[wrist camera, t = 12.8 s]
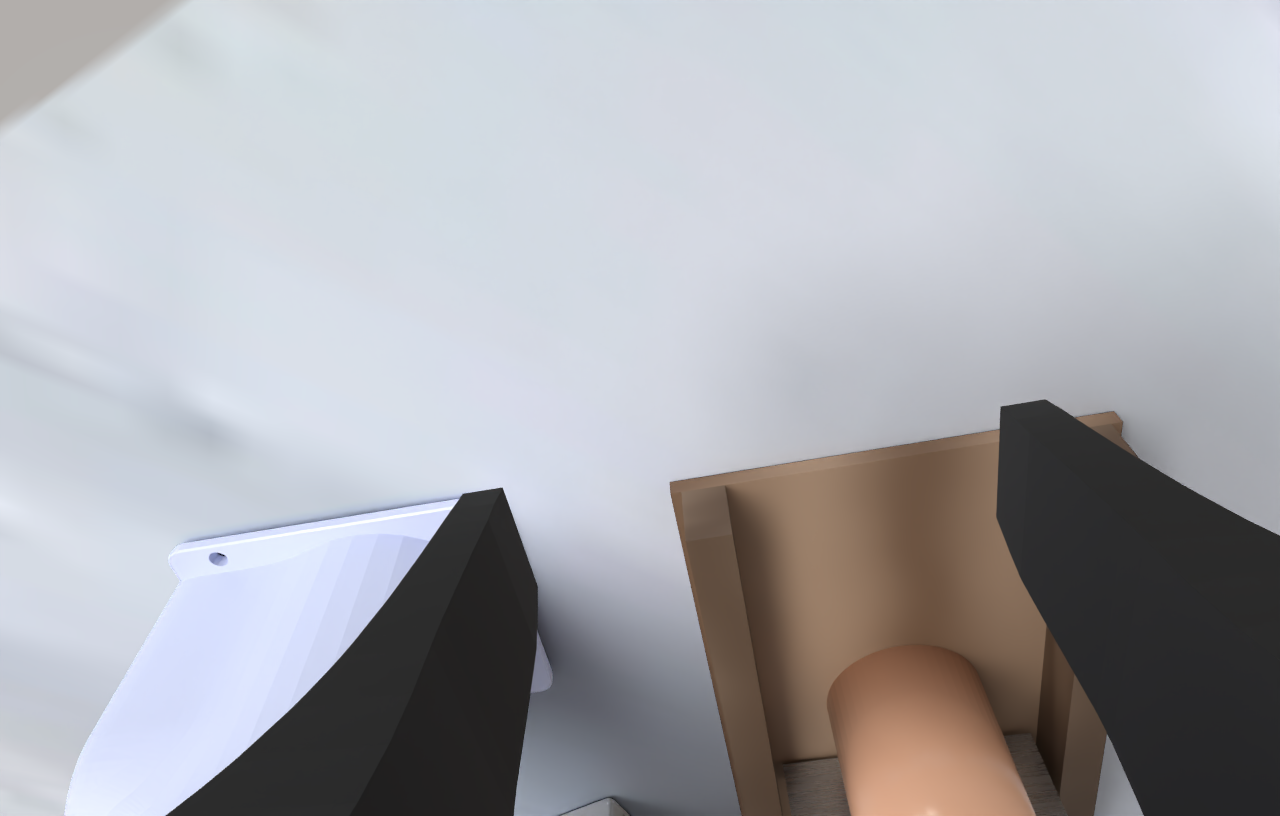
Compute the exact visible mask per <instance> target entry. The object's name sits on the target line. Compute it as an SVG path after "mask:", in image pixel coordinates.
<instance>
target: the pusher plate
mask: <svg viewBox="0 0 1280 816" xmlns="http://www.w3.org/2000/svg"><path fill="white" fill-rule="evenodd" d="M1004 739H1005V741H1006V743H1007V746H1008V748H1009V751H1010V753H1011V756H1012V758H1013V761H1014V763H1015V765H1016V768H1017V770H1018V773H1019V775H1020V778H1021V780H1022V783H1023V785H1024V787H1025V790H1026V792H1027V795H1028V797H1029V800H1030V802H1031V805H1032V807H1033V809H1034V812H1035V814H1036V816H1068V815H1067V813H1066V811H1065V809H1064V807H1063V804H1062V802H1061V800H1060V798H1059V795H1058V793H1057V791H1056V789H1055V786H1054V784H1053V782H1052V780H1051V777H1050V775H1049V773H1048V771H1047V768H1046V766H1045V764H1044V762H1043V760H1042V757H1041V755H1040V753H1039V751H1038V748H1037V746H1036V744H1035V742H1034V739H1033V737H1032V735H1031V733H1025V734H1017V735H1009V736H1004ZM783 768H784V774H785V780H786V786H787V792H788V798H789V804H790V810H791V816H851V814H850V809H849V805H848V800H847V796H846V791H845V787H844V782H843V778H842V773H841V769H840V765H839V760H838V758H831V759H823V760H815V761H808V762H800V763H792V764H784V765H783Z"/></svg>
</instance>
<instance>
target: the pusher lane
mask: <svg viewBox="0 0 1280 816" xmlns="http://www.w3.org/2000/svg"><path fill="white" fill-rule="evenodd" d="M1076 419H1077V420H1079V421H1081V422H1082V423H1084V424H1085V425H1087V426H1088V427H1090V428H1091V429H1093V430H1094V431H1096V432H1098V433H1099V434H1101V435H1102V436H1104V437H1105V438H1107V439H1108V440H1110V441H1112V442H1113V443H1115V444H1116V445H1118V446H1119V447H1121V448H1123V449H1124V450H1126V451H1127V452H1129V453H1131V454H1132V455H1134V456H1135V457H1137V458H1138V456H1137V455H1136V454H1135V453H1134V451H1133V450H1132V449H1131V448H1130V447H1129V445H1128V444H1127V443H1126V442H1125V440H1124V439H1123V438H1122V437H1121V433H1122V425H1123V421H1122V420H1121V419H1120V418H1119V417H1118V415H1117V414H1116V413H1115V412H1114V411H1113V412H1107V413H1101V414H1094V415H1088V416H1082V417H1076ZM999 435H1000V430H994V431H988V432H982V433H975V434H969V435H963V436H957V437H950V438H944V439H938V440H932V441H925V442H919V443H913V444H907V445H900V446H894V447H888V448H882V449H875V450H869V451H863V452H857V453H850V454H844V455H838V456H832V457H825V458H819V459H813V460H807V461H800V462H794V463H788V464H782V465H775V466H769V467H763V468H757V469H750V470H744V471H738V472H732V473H725V474H719V475H713V476H707V477H700V478H694V479H688V480H681V481H675V482H670V493H671V498H672V503H673V507H674V512H675V516H676V521H677V525H678V530H679V534H680V539H681V543H682V548H683V552H684V557H685V561H686V566H687V570H688V575H689V579H690V584H691V588H692V593H693V597H694V602H695V607H696V611H697V616H698V620H699V625H700V629H701V634H702V638H703V643H704V647H705V652H706V656H707V661H708V665H709V670H710V674H711V679H712V683H713V688H714V692H715V697H716V701H717V706H718V710H719V715H720V719H721V724H722V728H723V733H724V737H725V742H726V746H727V751H728V756H729V760H730V765H731V769H732V774H733V778H734V783H735V787H736V792H737V796H738V801H739V805H740V810H741V814H742V816H791V810H790V804H789V798H788V792H787V786H786V780H785V774H784V768H783V765H784V764H792V763H800V762H808V761H815V760H823V759H831V758H838V756H837V751H836V747H835V742H834V738H833V733H832V729H831V724H830V720H829V715H828V711H827V696H828V692H829V690H830V687H831V686H832V684H833V682H834V681H835V679H836V678H837V677H838V676H839V675H840V674H841V673H842V672H843V671H844V670H845V669H846V668H847V667H849V666H850V665H851V664H853V663H854V662H856V661H858V660H859V659H861V658H863V657H865V656H867V655H869V654H872V653H875V652H877V651H880V650H884V649H887V648H892V647H897V646H905V645H929V646H936V647H941V648H944V649H948V650H951V651H953V652H955V653H958V654H959V655H961V656H962V657H964V658H965V659H967V660H968V661H969V662H970V663H971V664H972V665H973V666H974V668H975V669H976V671H977V673H978V675H979V677H980V680H981V682H982V685H983V687H984V690H985V692H986V695H987V697H988V699H989V702H990V704H991V707H992V709H993V712H994V714H995V717H996V719H997V721H998V724H999V726H1000V729H1001V731H1002V734H1003V736H1009V735H1017V734H1025V733H1031V735H1032V737H1033V739H1034V742H1035V744H1036V746H1037V748H1038V751H1039V753H1040V755H1041V757H1042V760H1043V762H1044V764H1045V766H1046V768H1047V771H1048V773H1049V775H1050V777H1051V780H1052V782H1053V784H1054V786H1055V789H1056V791H1057V793H1058V795H1059V798H1060V800H1061V802H1062V804H1063V807H1064V809H1065V811H1066V813H1067V815H1068V816H1094V810H1095V804H1096V797H1097V791H1098V785H1099V779H1100V773H1101V766H1102V760H1103V754H1104V748H1105V741H1106V735H1107V732H1106V730H1105V728H1104V726H1103V724H1102V722H1101V720H1100V718H1099V716H1098V715H1097V713H1096V711H1095V709H1094V707H1093V705H1092V704H1091V702H1090V700H1089V698H1088V697H1087V695H1086V693H1085V691H1084V690H1083V688H1082V686H1081V684H1080V683H1079V681H1078V679H1077V677H1076V676H1075V674H1074V672H1073V670H1072V669H1071V667H1070V665H1069V663H1068V662H1067V660H1066V658H1065V656H1064V655H1063V653H1062V651H1061V649H1060V648H1059V646H1058V644H1057V642H1056V641H1055V639H1054V637H1053V635H1052V634H1051V632H1050V630H1049V628H1048V627H1047V625H1046V623H1045V621H1044V620H1043V618H1042V616H1041V614H1040V612H1039V611H1038V609H1037V607H1036V605H1035V604H1034V602H1033V600H1032V598H1031V596H1030V595H1029V593H1028V591H1027V589H1026V587H1025V586H1024V584H1023V582H1022V580H1021V578H1020V576H1019V573H1018V571H1017V569H1016V566H1015V564H1014V561H1013V559H1012V557H1011V554H1010V552H1009V549H1008V547H1007V544H1006V541H1005V539H1004V536H1003V534H1002V531H1001V528H1000V526H999V523H998V521H997V518H996V508H997V484H998V460H999Z"/></svg>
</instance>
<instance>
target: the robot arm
mask: <svg viewBox="0 0 1280 816" xmlns="http://www.w3.org/2000/svg"><path fill="white" fill-rule="evenodd" d="M996 518H997V521H998V523H999V526H1000V528H1001V531H1002V534H1003V536H1004V539H1005V541H1006V544H1007V547H1008V549H1009V552H1010V554H1011V557H1012V559H1013V561H1014V564H1015V566H1016V569H1017V571H1018V573H1019V576H1020V578H1021V580H1022V582H1023V584H1024V586H1025V587H1026V589H1027V591H1028V593H1029V595H1030V596H1031V598H1032V600H1033V602H1034V604H1035V605H1036V607H1037V609H1038V611H1039V612H1040V614H1041V616H1042V618H1043V620H1044V621H1045V623H1046V625H1047V627H1048V628H1049V630H1050V632H1051V634H1052V635H1053V637H1054V639H1055V641H1056V642H1057V644H1058V646H1059V648H1060V649H1061V651H1062V653H1063V655H1064V656H1065V658H1066V660H1067V662H1068V663H1069V665H1070V667H1071V669H1072V670H1073V672H1074V674H1075V676H1076V677H1077V679H1078V681H1079V683H1080V684H1081V686H1082V688H1083V690H1084V691H1085V693H1086V695H1087V697H1088V698H1089V700H1090V702H1091V704H1092V705H1093V707H1094V709H1095V711H1096V713H1097V715H1098V716H1099V718H1100V720H1101V722H1102V724H1103V726H1104V728H1105V730H1106V732H1107V734H1108V736H1109V738H1110V740H1111V742H1112V744H1113V746H1114V748H1115V751H1116V753H1117V755H1118V757H1119V760H1120V762H1121V764H1122V767H1123V769H1124V771H1125V773H1126V776H1127V778H1128V780H1129V782H1130V785H1131V787H1132V789H1133V792H1134V794H1135V796H1136V798H1137V801H1138V803H1139V805H1140V808H1141V810H1142V812H1143V815H1144V816H1280V536H1279V535H1277V534H1275V533H1273V532H1271V531H1269V530H1267V529H1265V528H1263V527H1261V526H1258V525H1256V524H1254V523H1252V522H1250V521H1248V520H1246V519H1244V518H1243V517H1241V516H1239V515H1237V514H1235V513H1233V512H1231V511H1229V510H1228V509H1226V508H1224V507H1222V506H1220V505H1218V504H1216V503H1215V502H1213V501H1211V500H1209V499H1207V498H1205V497H1203V496H1201V495H1200V494H1198V493H1196V492H1194V491H1193V490H1191V489H1189V488H1187V487H1186V486H1184V485H1182V484H1180V483H1179V482H1177V481H1175V480H1173V479H1172V478H1170V477H1168V476H1167V475H1165V474H1163V473H1162V472H1160V471H1158V470H1157V469H1155V468H1153V467H1152V466H1150V465H1148V464H1147V463H1145V462H1143V461H1142V460H1140V459H1139V458H1137V457H1135V456H1134V455H1132V454H1131V453H1129V452H1127V451H1126V450H1124V449H1123V448H1121V447H1119V446H1118V445H1116V444H1115V443H1113V442H1112V441H1110V440H1108V439H1107V438H1105V437H1104V436H1102V435H1101V434H1099V433H1098V432H1096V431H1094V430H1093V429H1091V428H1090V427H1088V426H1087V425H1085V424H1084V423H1082V422H1081V421H1079V420H1077V419H1076V418H1074V417H1073V416H1071V415H1070V414H1068V413H1067V412H1065V411H1063V410H1062V409H1060V408H1059V407H1057V406H1055V405H1054V404H1052V403H1050V402H1049V401H1047V400H1039V401H1033V402H1027V403H1021V404H1015V405H1009V406H1002V407H1001V411H1000V435H999V460H998V484H997V508H996ZM217 553H221V554H224V555H225V556H221V555H219V554H217ZM168 562H169V565H170V567H171V568H172V570H173V571H174V573H175V574H176V576H177V577H178V579H179V580H180V582H179V584H178V586H177V588H176V589H175V591H174V593H173V594H172V596H171V598H170V600H169V601H168V603H167V605H166V606H165V608H164V610H163V611H162V613H161V615H160V617H159V618H158V620H157V622H156V623H155V625H154V627H153V629H152V630H151V632H150V634H149V635H148V637H147V639H146V641H145V642H144V644H143V646H142V647H141V649H140V651H139V653H138V654H137V656H136V658H135V659H134V661H133V663H132V665H131V666H130V668H129V670H128V671H127V673H126V675H125V676H124V678H123V680H122V682H121V683H120V685H119V687H118V688H117V690H116V692H115V694H114V695H113V697H112V699H111V700H110V702H109V704H108V706H107V707H106V709H105V711H104V712H103V714H102V716H101V718H100V719H99V721H98V723H97V724H96V726H95V728H94V729H93V731H92V733H91V735H90V736H89V738H88V740H87V742H86V744H85V746H84V748H83V750H82V752H81V754H80V756H79V759H78V762H77V764H76V767H75V770H74V773H73V776H72V779H71V783H70V787H69V791H68V795H67V801H66V807H65V813H64V816H514V806H515V796H516V787H517V780H518V774H519V767H520V760H521V753H522V747H523V740H524V733H525V727H526V720H527V713H528V706H529V700H530V693H536V692H542V691H545V690H547V689H548V688H550V687H551V685H552V681H553V672H552V669H551V666H550V664H549V661H548V658H547V655H546V653H545V650H544V647H543V645H542V642H541V639H540V636H539V634H538V631H537V603H538V586H537V583H536V581H535V578H534V575H533V572H532V569H531V566H530V564H529V561H528V558H527V555H526V552H525V550H524V547H523V544H522V541H521V538H520V535H519V533H518V530H517V527H516V524H515V521H514V519H513V516H512V513H511V510H510V507H509V504H508V502H507V499H506V496H505V493H504V490H503V488H497V489H491V490H484V491H478V492H472V493H466V494H463V495H462V496H461V497H460V499H454V500H448V501H442V502H435V503H429V504H423V505H417V506H411V507H404V508H398V509H392V510H386V511H380V512H374V513H367V514H361V515H355V516H349V517H343V518H336V519H330V520H324V521H318V522H312V523H306V524H299V525H293V526H287V527H281V528H275V529H268V530H262V531H256V532H250V533H244V534H237V535H231V536H225V537H219V538H213V539H207V540H200V541H194V542H188V543H182V544H179V545H177V546H176V547H175V548H174V549H173V550H172V552H171V554H170V555H169V558H168Z"/></svg>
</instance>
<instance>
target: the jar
mask: <svg viewBox="0 0 1280 816" xmlns="http://www.w3.org/2000/svg"><path fill="white" fill-rule="evenodd" d="M827 711H828V715H829V720H830V724H831V729H832V733H833V738H834V742H835V747H836V751H837V756H838V760H839V765H840V769H841V773H842V778H843V782H844V787H845V791H846V796H847V800H848V805H849V809H850V814H851V816H1036V814H1035V812H1034V809H1033V807H1032V805H1031V802H1030V800H1029V797H1028V795H1027V792H1026V790H1025V787H1024V785H1023V783H1022V780H1021V778H1020V775H1019V773H1018V770H1017V768H1016V765H1015V763H1014V761H1013V758H1012V756H1011V753H1010V751H1009V748H1008V746H1007V743H1006V741H1005V739H1004V736H1003V734H1002V731H1001V729H1000V726H999V724H998V721H997V719H996V717H995V714H994V712H993V709H992V707H991V704H990V702H989V699H988V697H987V695H986V692H985V690H984V687H983V685H982V682H981V680H980V677H979V675H978V673H977V671H976V669H975V668H974V666H973V665H972V664H971V663H970V662H969V661H968V660H967V659H965V658H964V657H962V656H961V655H959V654H958V653H955V652H953V651H951V650H948V649H944V648H941V647H936V646H929V645H905V646H897V647H892V648H887V649H884V650H880V651H877V652H875V653H872V654H869V655H867V656H865V657H863V658H861V659H859V660H858V661H856V662H854V663H853V664H851V665H850V666H849V667H847V668H846V669H845V670H844V671H843V672H842V673H841V674H840V675H839V676H838V677H837V678H836V679H835V681H834V682H833V684H832V686H831V687H830V690H829V692H828V696H827Z"/></svg>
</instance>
